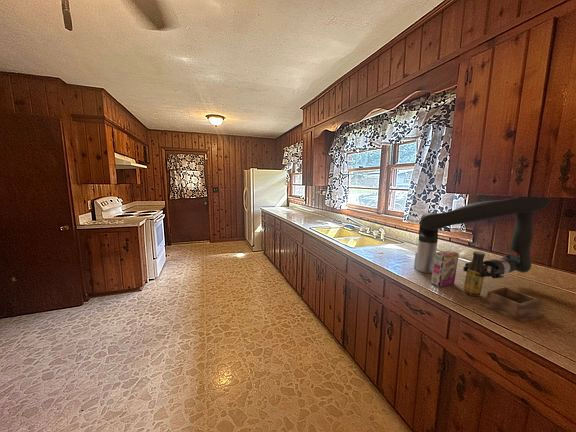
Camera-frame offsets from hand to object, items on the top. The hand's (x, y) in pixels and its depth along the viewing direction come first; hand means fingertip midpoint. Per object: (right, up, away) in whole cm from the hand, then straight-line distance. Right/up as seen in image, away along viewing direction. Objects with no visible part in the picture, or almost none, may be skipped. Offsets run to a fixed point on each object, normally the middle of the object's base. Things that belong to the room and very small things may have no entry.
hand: (472, 271), depth 106 cm
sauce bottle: (+2, -11, +3) cm, 11 cm away
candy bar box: (-5, -9, +13) cm, 17 cm away
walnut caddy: (+8, -13, -10) cm, 18 cm away
